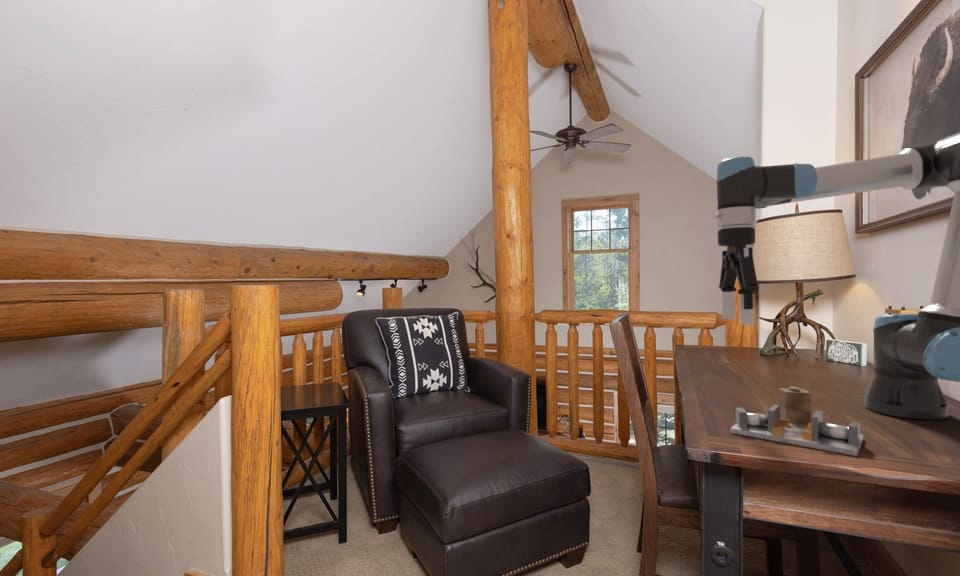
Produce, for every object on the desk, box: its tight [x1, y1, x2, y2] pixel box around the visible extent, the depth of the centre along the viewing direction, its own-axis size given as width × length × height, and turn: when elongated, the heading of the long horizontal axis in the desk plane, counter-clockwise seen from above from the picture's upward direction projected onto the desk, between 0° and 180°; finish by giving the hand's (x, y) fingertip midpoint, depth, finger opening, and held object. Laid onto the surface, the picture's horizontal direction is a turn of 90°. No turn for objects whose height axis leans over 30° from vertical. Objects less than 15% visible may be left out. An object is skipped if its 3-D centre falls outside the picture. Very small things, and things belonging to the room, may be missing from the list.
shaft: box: [735, 406, 768, 428], centre depth 105 cm, size 6×4×3 cm
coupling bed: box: [730, 403, 864, 457], centre depth 101 cm, size 21×12×5 cm, turn 48°
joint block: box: [778, 386, 812, 426], centre depth 111 cm, size 5×4×8 cm
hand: (737, 321), depth 113 cm, fingers open, 13 cm apart
